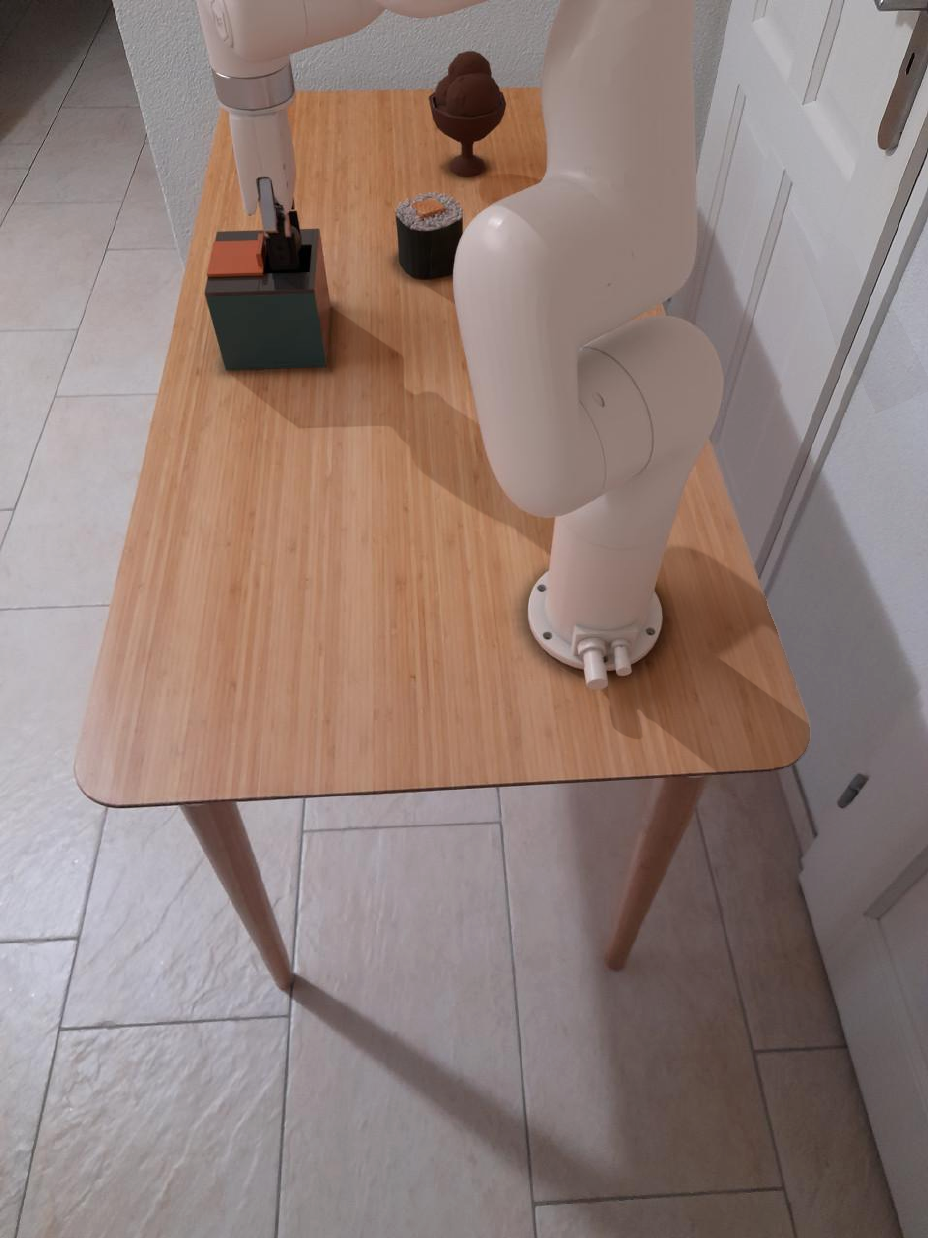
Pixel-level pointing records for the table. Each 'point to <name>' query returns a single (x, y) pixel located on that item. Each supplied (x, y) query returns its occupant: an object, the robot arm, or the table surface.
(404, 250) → the sushi
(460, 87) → the ice cream bowl
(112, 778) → the table surface
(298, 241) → the ball
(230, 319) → the sliding lid box
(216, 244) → the slider
